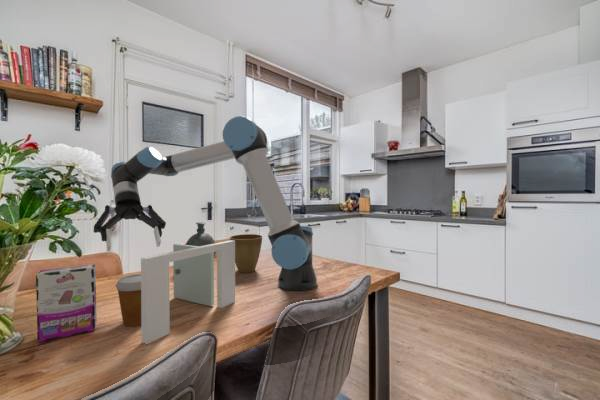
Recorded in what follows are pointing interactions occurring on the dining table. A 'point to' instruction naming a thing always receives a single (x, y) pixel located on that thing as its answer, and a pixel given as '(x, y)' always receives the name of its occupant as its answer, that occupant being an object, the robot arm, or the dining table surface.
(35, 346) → the dining table surface
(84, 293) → the candy bar box
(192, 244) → the flask
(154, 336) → the door frame
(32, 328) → the dining table surface
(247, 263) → the plant pot
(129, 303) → the disposable coffee cup
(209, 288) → the door
